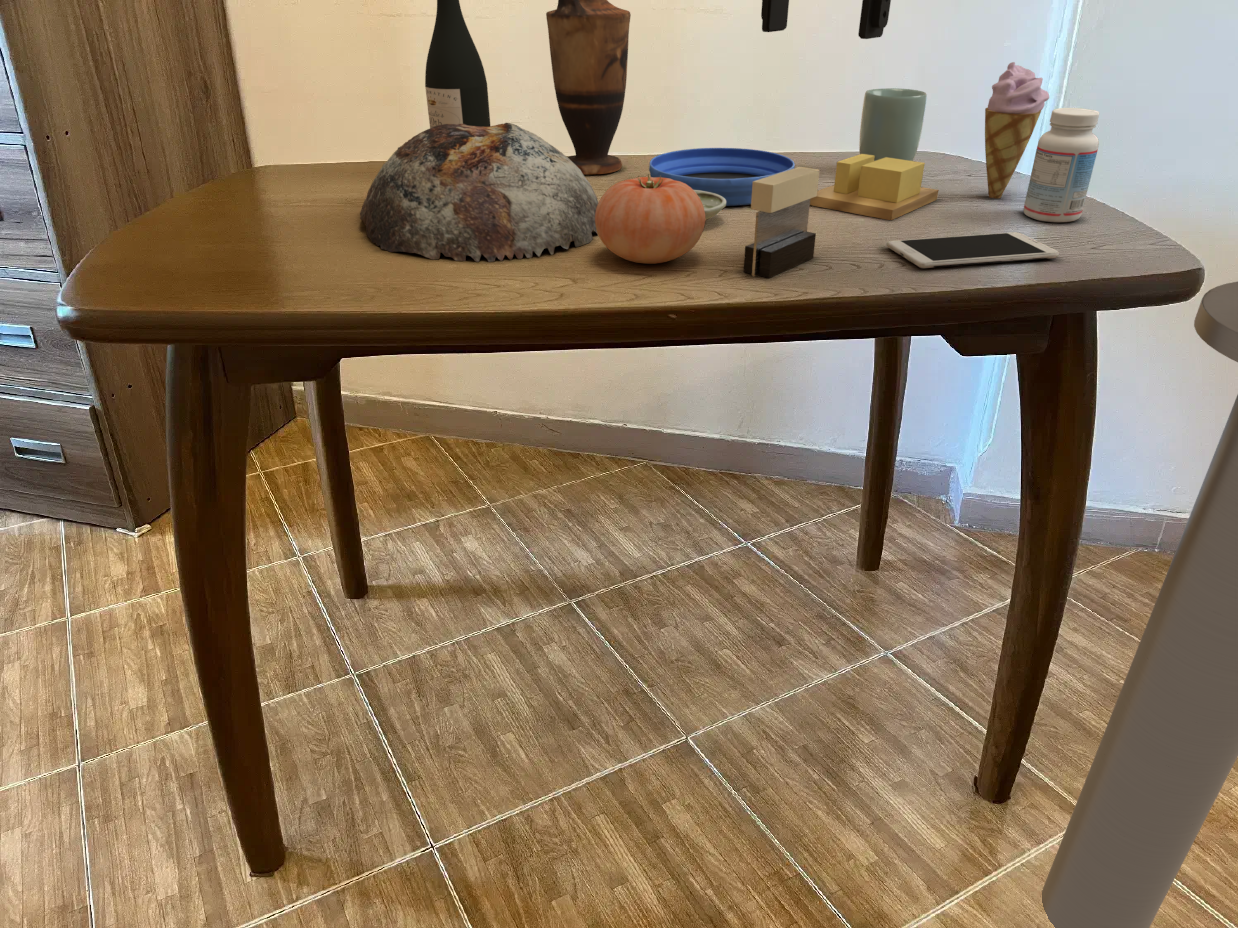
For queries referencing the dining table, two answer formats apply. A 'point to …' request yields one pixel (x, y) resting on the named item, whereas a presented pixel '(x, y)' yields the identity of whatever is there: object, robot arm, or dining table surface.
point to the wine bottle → (455, 72)
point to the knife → (781, 207)
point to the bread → (478, 195)
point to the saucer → (711, 203)
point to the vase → (590, 76)
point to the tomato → (650, 219)
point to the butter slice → (850, 173)
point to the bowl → (720, 170)
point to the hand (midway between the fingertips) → (820, 34)
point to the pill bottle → (1063, 166)
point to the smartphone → (971, 249)
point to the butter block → (890, 179)
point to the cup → (892, 123)
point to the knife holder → (781, 255)
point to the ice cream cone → (1010, 123)
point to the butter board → (871, 203)
